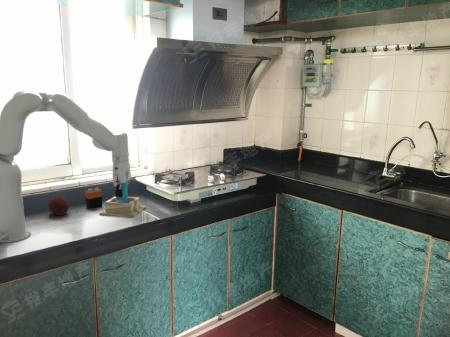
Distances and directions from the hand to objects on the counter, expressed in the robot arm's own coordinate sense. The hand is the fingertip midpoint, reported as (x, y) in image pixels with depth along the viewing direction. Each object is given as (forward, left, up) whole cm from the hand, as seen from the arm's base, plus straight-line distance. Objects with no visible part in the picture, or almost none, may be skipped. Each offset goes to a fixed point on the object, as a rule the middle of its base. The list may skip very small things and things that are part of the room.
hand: (122, 194), depth 185 cm
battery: (+3, +17, -9) cm, 19 cm away
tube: (0, 0, -8) cm, 8 cm away
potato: (-10, +28, -9) cm, 31 cm away
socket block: (0, 0, -9) cm, 9 cm away
